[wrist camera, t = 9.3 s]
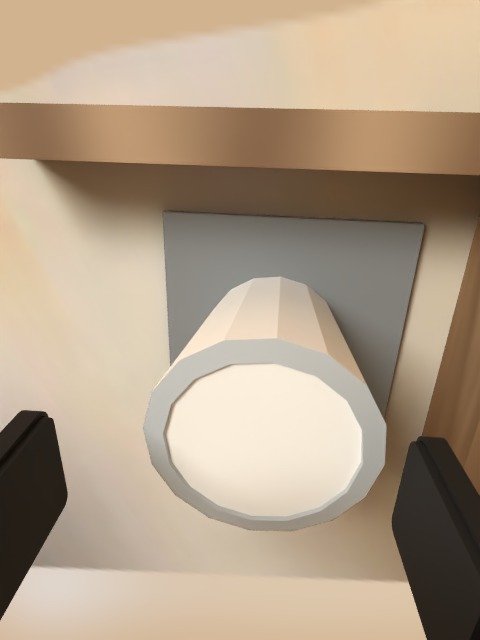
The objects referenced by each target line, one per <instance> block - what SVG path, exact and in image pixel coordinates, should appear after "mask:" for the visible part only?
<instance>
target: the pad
mask: <svg viewBox="0 0 480 640" xmlns="http://www.w3.org/2000/svg"><path fill="white" fill-rule="evenodd" d="M424 227H425V224H423V223H418V222H396V221H375V220H354V219H333V218H311V217H290V216H269V215H248V214H226V213H205V212H184V211H164V212H163V229H164V249H165V269H166V289H167V309H168V328H169V348H170V367H171V365H172V364H173V363H174V361H175V360H176V359H177V357H178V356H179V355H180V353H181V352H182V351H183V349H184V348H185V347H186V345H187V344H188V343H189V341H190V340H191V339H192V337H193V336H194V335H195V333H196V332H197V331H198V329H199V328H200V327H201V325H202V324H203V323H204V321H205V320H206V319H207V317H208V316H209V315H210V313H211V312H212V311H213V309H214V308H215V307H216V306H217V305H218V303H219V302H220V301H221V300H222V299H223V298H224V297H225V295H226V294H227V293H228V292H229V291H230V290H231V289H233V288H235V287H237V286H239V285H241V284H243V283H245V282H247V281H249V280H251V279H253V278H267V277H283V278H287V279H290V280H293V281H296V282H299V283H302V284H305V285H307V286H308V287H309V288H311V289H312V290H313V291H314V292H315V293H317V294H318V295H319V296H320V297H321V298H323V299H324V300H325V301H326V302H327V304H328V306H329V308H330V311H331V313H332V315H333V317H334V319H335V321H336V323H337V325H338V327H339V329H340V331H341V333H342V335H343V337H344V339H345V341H346V343H347V345H348V347H349V349H350V352H351V354H352V356H353V358H354V360H355V362H356V364H357V366H358V368H359V370H360V372H361V374H362V376H363V378H364V380H365V382H366V384H367V386H368V388H369V390H370V393H371V395H372V397H373V399H374V401H375V403H376V405H377V407H378V409H379V411H380V413H381V415H382V417H383V419H384V418H385V413H386V408H387V403H388V398H389V394H390V389H391V384H392V379H393V375H394V370H395V365H396V360H397V356H398V351H399V346H400V341H401V337H402V332H403V327H404V322H405V317H406V313H407V308H408V303H409V298H410V294H411V289H412V284H413V279H414V275H415V270H416V265H417V260H418V256H419V251H420V246H421V241H422V236H423V232H424Z"/></svg>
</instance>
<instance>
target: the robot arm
mask: <svg viewBox="0 0 480 640" xmlns="http://www.w3.org/2000/svg"><path fill="white" fill-rule="evenodd" d="M67 495H68V494H67V487H66V482H65V477H64V471H63V466H62V461H61V456H60V451H59V445H58V440H57V435H56V430H55V425H54V421H53V419H52V418H49V417H48V414H47V413H46V412H43V411H28V410H23V411H21V412H19V413H18V414H17V415H16V416H15V417H14V418H13V419H12V421H11V422H10V423H9V424H8V425H7V426H6V427H5V428H4V429H3V430H2V431H1V432H0V620H1V618H2V616H3V615H4V613H5V611H6V609H7V608H8V606H9V604H10V602H11V600H12V599H13V597H14V595H15V593H16V591H17V590H18V588H19V586H20V585H21V583H22V581H23V579H24V577H25V576H26V574H27V572H28V570H29V569H30V567H31V565H32V563H33V562H34V560H35V558H36V556H37V555H38V553H39V551H40V549H41V548H42V546H43V544H44V542H45V540H46V539H47V537H48V535H49V533H50V532H51V530H52V528H53V526H54V525H55V523H56V521H57V519H58V517H59V516H60V514H61V512H62V510H63V509H64V507H65V504H66V501H67ZM392 529H393V534H394V537H395V540H396V543H397V546H398V549H399V553H400V556H401V559H402V562H403V565H404V568H405V572H406V575H407V578H408V581H409V584H410V587H411V591H412V594H413V597H414V600H415V603H416V606H417V610H418V613H419V616H420V619H421V622H422V625H423V628H424V632H425V635H426V638H427V640H480V495H479V494H478V492H477V491H476V489H475V487H474V486H473V484H472V482H471V481H470V479H469V477H468V475H467V474H466V472H465V470H464V469H463V467H462V465H461V464H460V462H459V460H458V459H457V457H456V455H455V454H454V452H453V450H452V449H451V447H450V445H449V443H448V442H447V440H446V439H445V438H441V437H426V436H420V437H419V438H418V439H417V442H411V443H410V446H409V450H408V454H407V458H406V462H405V466H404V470H403V474H402V479H401V483H400V487H399V491H398V495H397V499H396V503H395V507H394V511H393V515H392Z"/></svg>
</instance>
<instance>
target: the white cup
mask: <svg viewBox="0 0 480 640" xmlns="http://www.w3.org/2000/svg"><path fill="white" fill-rule="evenodd" d="M386 428H387V425H386V423H385V421H384V419H383V417H382V415H381V413H380V411H379V409H378V407H377V405H376V403H375V401H374V399H373V397H372V395H371V393H370V390H369V388H368V386H367V384H366V382H365V380H364V378H363V376H362V374H361V372H360V370H359V368H358V366H357V364H356V362H355V360H354V358H353V356H352V354H351V352H350V349H349V347H348V345H347V343H346V341H345V339H344V337H343V335H342V333H341V331H340V329H339V327H338V325H337V323H336V321H335V319H334V317H333V315H332V313H331V311H330V308H329V306H328V304H327V302H326V301H325V300H324V299H323V298H321V297H320V296H319V295H318V294H317V293H315V292H314V291H313V290H312V289H311V288H309V287H308V286H307V285H305V284H302V283H299V282H296V281H293V280H290V279H287V278H283V277H267V278H253V279H251V280H249V281H247V282H245V283H243V284H241V285H239V286H237V287H235V288H233V289H231V290H230V291H229V292H228V293H227V294H226V295H225V297H224V298H223V299H222V300H221V301H220V302H219V303H218V305H217V306H216V307H215V308H214V309H213V311H212V312H211V313H210V315H209V316H208V317H207V319H206V320H205V321H204V323H203V324H202V325H201V327H200V328H199V329H198V331H197V332H196V333H195V335H194V336H193V337H192V339H191V340H190V341H189V343H188V344H187V345H186V347H185V348H184V349H183V351H182V352H181V353H180V355H179V356H178V357H177V359H176V360H175V361H174V363H173V364H172V365H171V367H170V368H169V369H168V371H167V372H166V373H165V375H164V376H163V377H162V379H161V380H160V381H159V383H158V384H157V385H156V387H155V388H154V389H153V391H152V393H151V397H150V401H149V406H148V410H147V414H146V418H145V422H144V426H143V430H144V434H145V438H146V442H147V446H148V450H149V454H150V459H151V463H152V465H153V466H154V468H155V469H156V470H157V472H158V473H159V474H160V476H161V477H162V478H163V480H164V481H165V482H166V483H167V485H168V486H169V487H170V489H171V490H172V491H173V493H174V494H175V495H176V496H177V497H179V498H180V499H182V500H183V501H185V502H186V503H188V504H189V505H191V506H192V507H194V508H195V509H197V510H198V511H200V512H201V513H203V514H204V515H206V516H207V517H209V518H212V519H215V520H218V521H221V522H225V523H228V524H231V525H234V526H237V527H241V528H244V529H247V530H260V531H295V530H299V529H302V528H306V527H310V526H313V525H317V524H321V523H325V522H328V521H332V520H333V519H335V518H336V517H338V516H339V515H341V514H342V513H344V512H345V511H346V510H348V509H349V508H351V507H352V506H354V505H355V504H357V503H358V502H360V501H361V500H362V499H364V498H365V497H366V495H367V493H368V492H369V490H370V489H371V487H372V485H373V484H374V482H375V480H376V479H377V477H378V475H379V474H380V472H381V470H382V469H383V467H384V465H385V450H386Z"/></svg>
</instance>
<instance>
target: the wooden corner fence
mask: <svg viewBox="0 0 480 640" xmlns="http://www.w3.org/2000/svg"><path fill="white" fill-rule="evenodd" d="M0 158H7V159H36V160H64V161H92V162H120V163H148V164H177V165H205V166H233V167H261V168H289V169H318V170H346V171H374V172H402V173H430V174H458V175H480V113H463V112H416V111H369V110H321V109H274V108H227V107H179V106H132V105H84V104H37V103H0ZM422 436H426V437H441V438H445V439H446V440H447V442H448V443H449V445H450V447H451V449H452V450H453V452H454V454H455V455H456V457H457V459H458V460H459V462H460V464H461V465H462V467H463V469H464V470H465V472H466V474H467V475H468V477H469V479H470V481H471V482H472V484H473V486H474V487H475V489H476V491H477V492H478V494H479V495H480V216H479V220H478V224H477V228H476V231H475V235H474V239H473V243H472V247H471V251H470V254H469V258H468V262H467V266H466V270H465V273H464V277H463V281H462V285H461V289H460V293H459V296H458V300H457V304H456V308H455V312H454V315H453V319H452V323H451V327H450V331H449V335H448V338H447V342H446V346H445V350H444V354H443V357H442V361H441V365H440V369H439V373H438V377H437V380H436V384H435V388H434V392H433V396H432V399H431V403H430V407H429V411H428V415H427V419H426V422H425V426H424V430H423V434H422Z"/></svg>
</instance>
